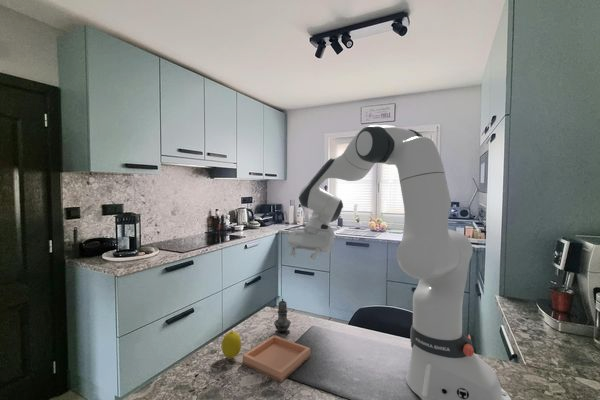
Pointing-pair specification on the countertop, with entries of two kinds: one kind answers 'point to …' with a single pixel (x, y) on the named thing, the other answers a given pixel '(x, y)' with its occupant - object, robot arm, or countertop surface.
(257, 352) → the tray
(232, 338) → the lemon
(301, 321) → the countertop surface
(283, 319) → the dark grey chess piece
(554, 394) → the countertop surface
